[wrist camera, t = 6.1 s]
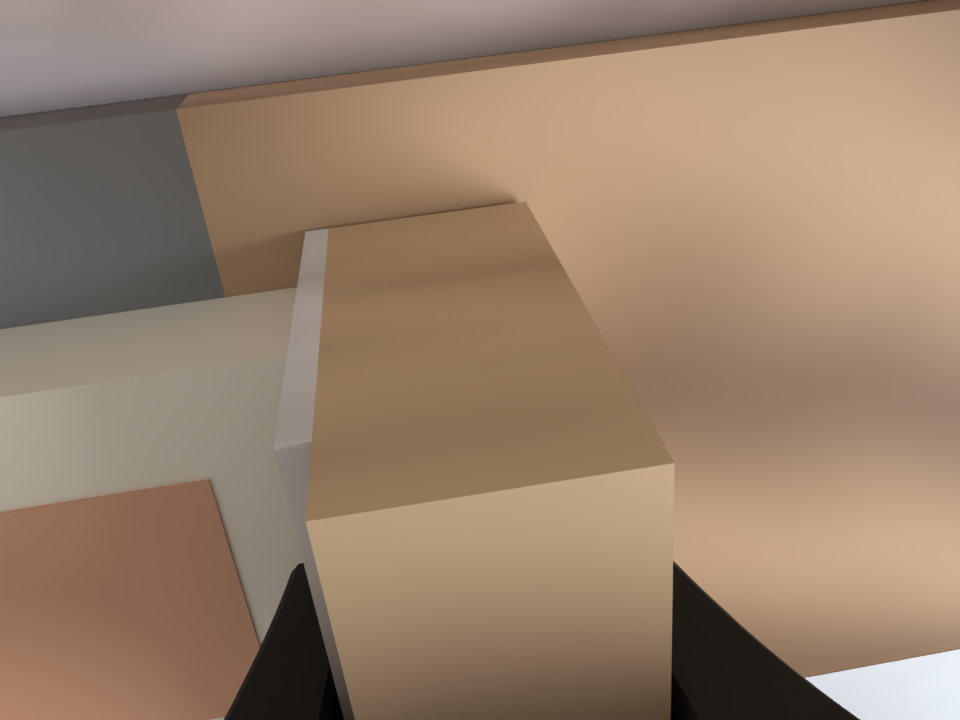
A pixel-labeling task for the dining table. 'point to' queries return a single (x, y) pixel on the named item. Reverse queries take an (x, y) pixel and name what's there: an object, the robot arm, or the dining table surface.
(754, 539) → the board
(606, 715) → the light wood block
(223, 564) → the tile
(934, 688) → the dining table surface
